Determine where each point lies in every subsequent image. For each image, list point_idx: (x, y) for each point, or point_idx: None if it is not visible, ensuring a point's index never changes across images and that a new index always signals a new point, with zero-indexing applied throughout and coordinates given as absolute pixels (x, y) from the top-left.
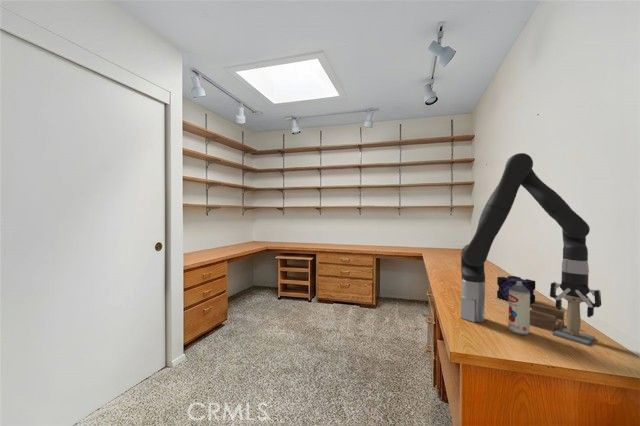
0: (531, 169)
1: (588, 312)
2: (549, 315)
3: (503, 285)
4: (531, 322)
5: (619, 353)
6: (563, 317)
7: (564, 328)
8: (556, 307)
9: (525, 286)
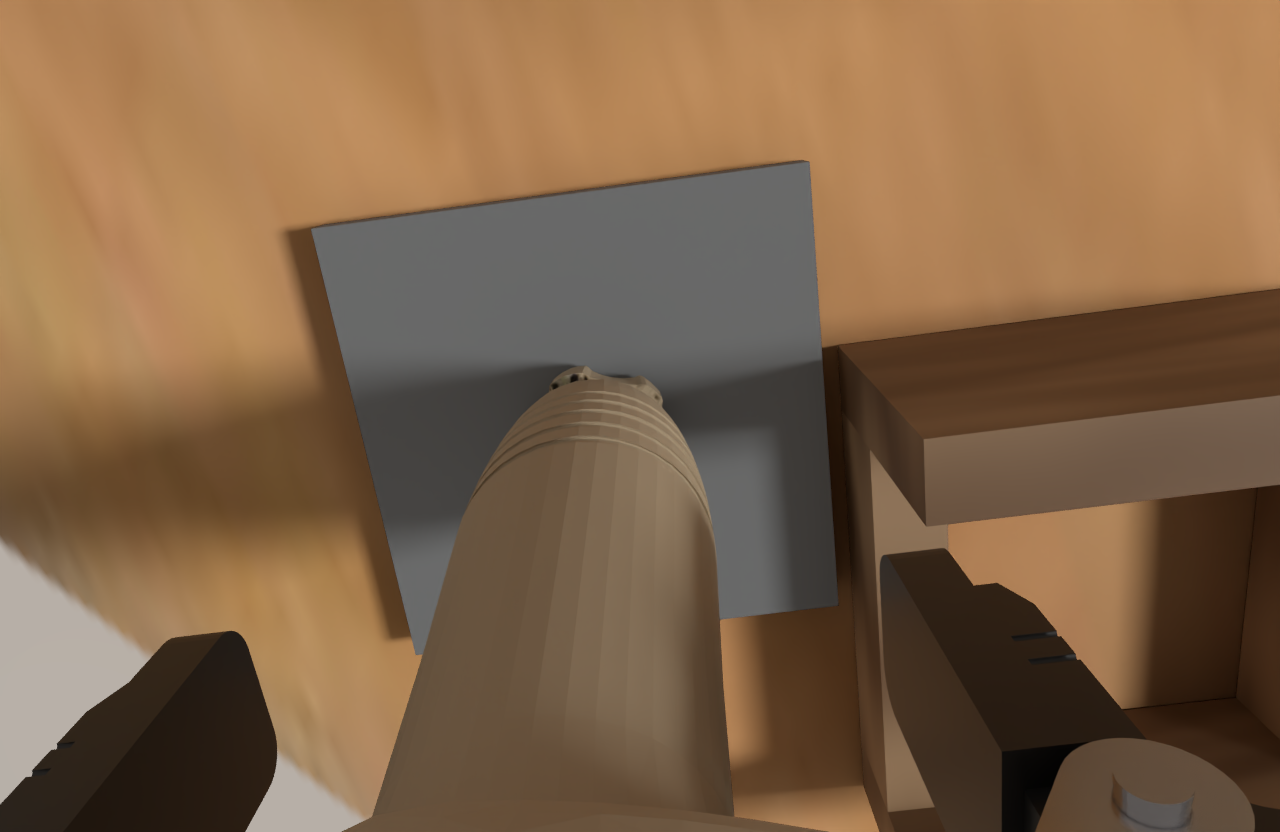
0: None
1: (132, 709)
2: (1037, 446)
3: None
4: (1223, 312)
5: (16, 354)
6: None
7: (782, 588)
8: (996, 591)
9: None
